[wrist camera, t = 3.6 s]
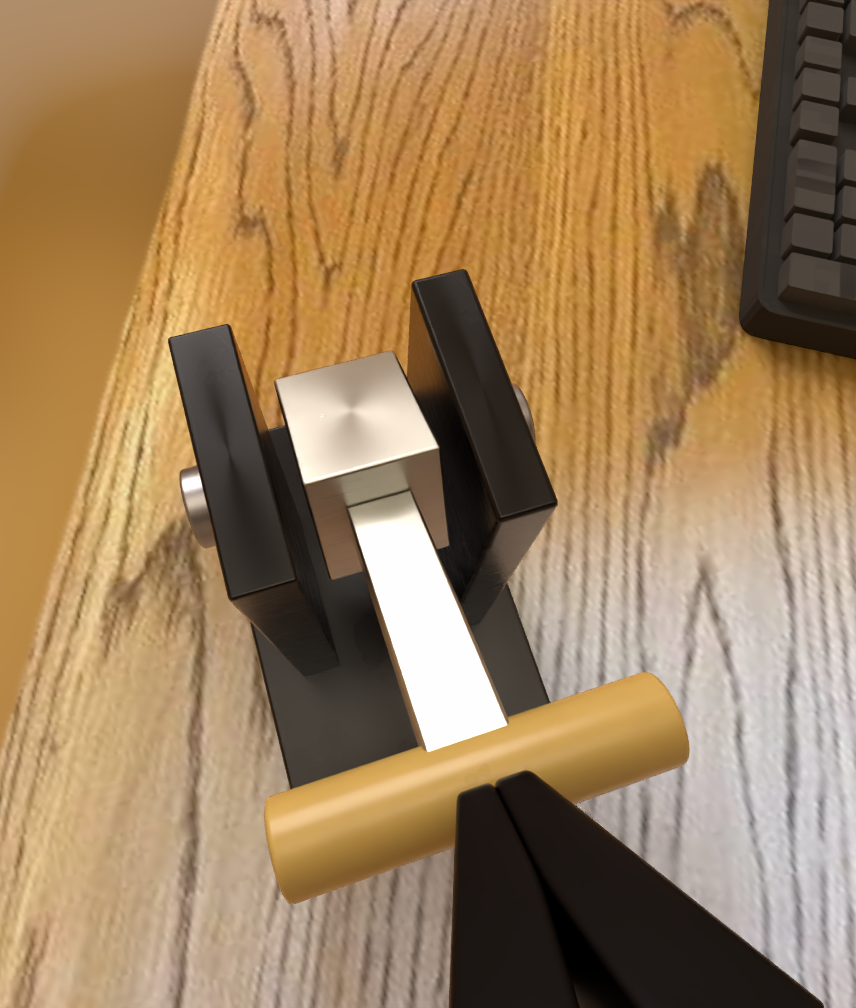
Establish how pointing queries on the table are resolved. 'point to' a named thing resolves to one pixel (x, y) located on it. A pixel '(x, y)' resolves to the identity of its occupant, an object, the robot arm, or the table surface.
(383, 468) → the lever
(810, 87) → the keyboard
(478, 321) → the black upright frame
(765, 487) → the table surface
